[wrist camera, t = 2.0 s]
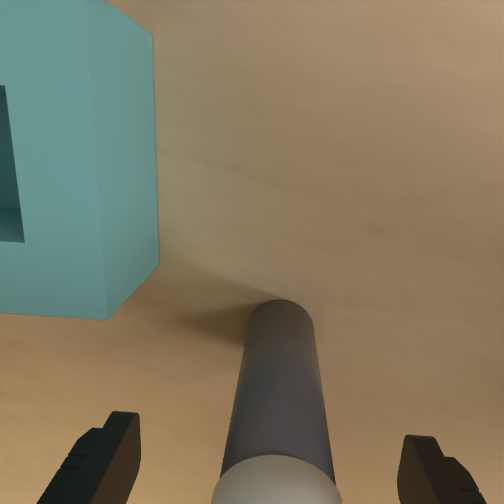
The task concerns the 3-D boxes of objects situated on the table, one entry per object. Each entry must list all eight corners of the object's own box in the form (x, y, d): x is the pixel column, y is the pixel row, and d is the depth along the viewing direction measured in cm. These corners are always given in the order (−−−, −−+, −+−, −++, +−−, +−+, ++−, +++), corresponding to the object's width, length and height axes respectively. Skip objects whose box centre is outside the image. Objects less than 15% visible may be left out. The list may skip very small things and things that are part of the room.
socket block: (151, 34, 17) (83, -15, 11) (159, 265, 20) (107, 320, 14) (-79, 28, 18) (-255, -20, 12) (-39, 253, 20) (-166, 301, 15)
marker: (318, 300, 20) (364, 538, 8) (312, 362, 21) (346, 653, 9) (247, 295, 20) (196, 521, 8) (245, 357, 21) (196, 635, 9)
